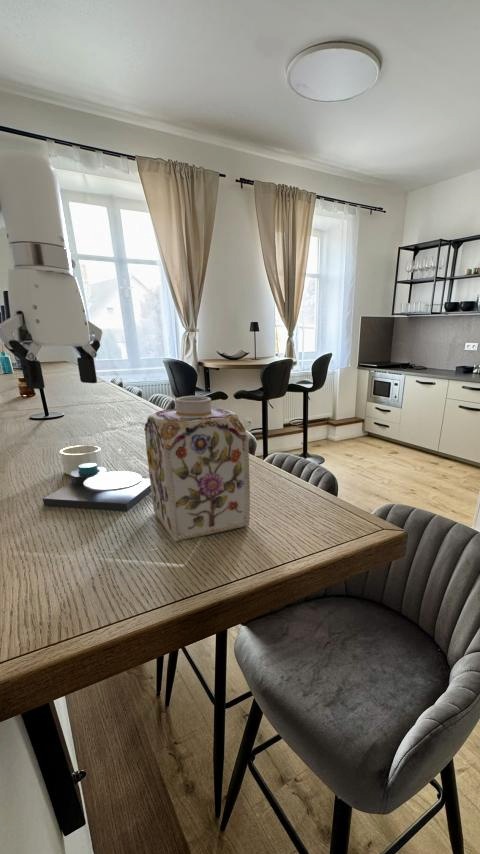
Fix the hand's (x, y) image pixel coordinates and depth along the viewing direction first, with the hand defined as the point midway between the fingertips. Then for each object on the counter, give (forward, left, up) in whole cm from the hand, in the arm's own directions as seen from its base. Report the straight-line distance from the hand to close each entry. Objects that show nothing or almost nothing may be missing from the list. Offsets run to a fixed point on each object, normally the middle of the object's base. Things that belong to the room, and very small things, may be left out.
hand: (64, 385), depth 65 cm
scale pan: (+7, -2, -15) cm, 17 cm away
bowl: (-6, +11, -18) cm, 22 cm away
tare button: (0, +2, -15) cm, 16 cm away
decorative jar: (+24, -8, -18) cm, 31 cm away
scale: (+5, -1, -18) cm, 19 cm away
